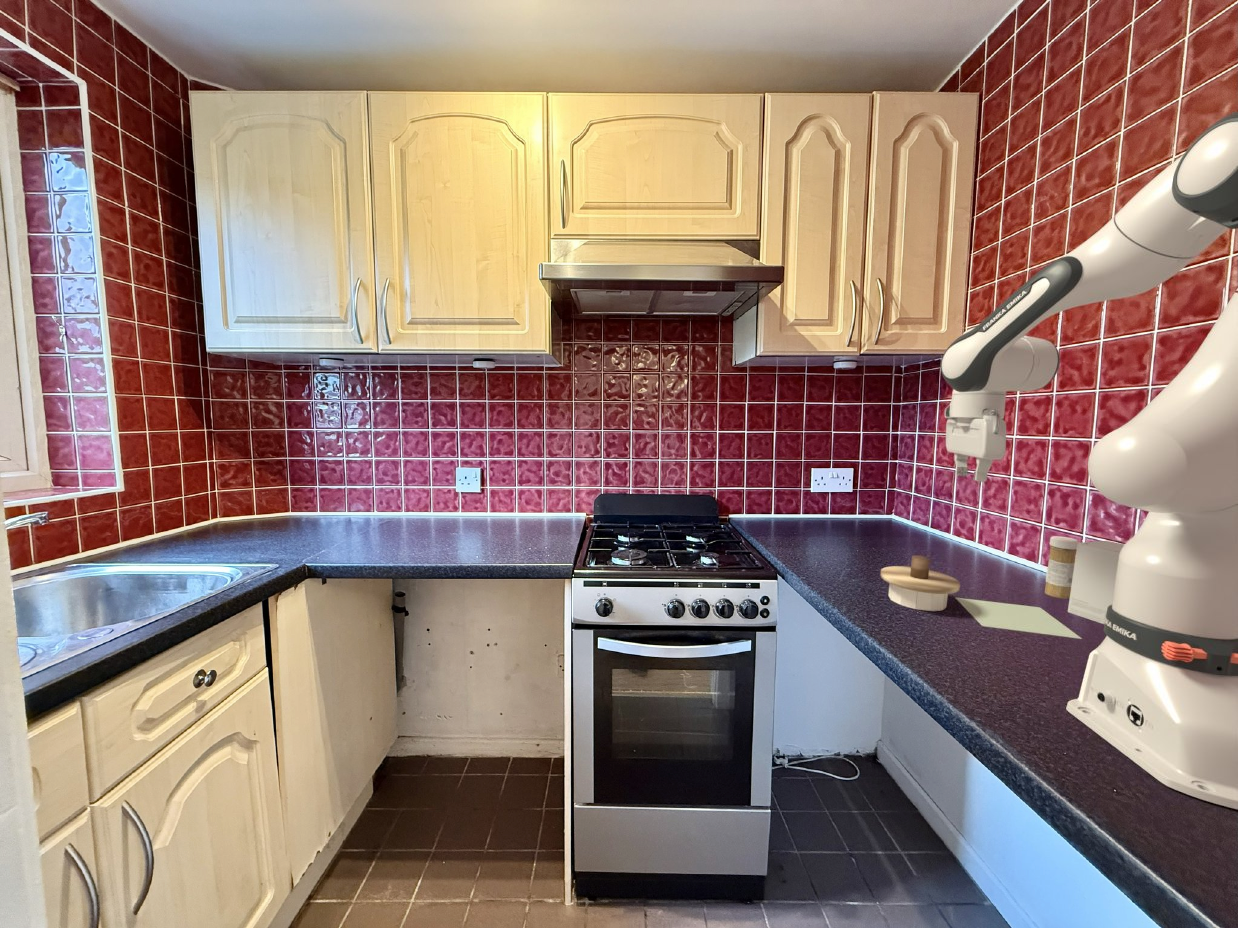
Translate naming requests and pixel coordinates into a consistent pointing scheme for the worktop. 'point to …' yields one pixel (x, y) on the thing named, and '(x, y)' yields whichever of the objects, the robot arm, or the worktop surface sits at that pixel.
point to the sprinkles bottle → (1060, 566)
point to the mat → (1015, 617)
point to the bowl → (917, 599)
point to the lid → (920, 577)
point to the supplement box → (1094, 579)
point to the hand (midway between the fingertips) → (970, 478)
